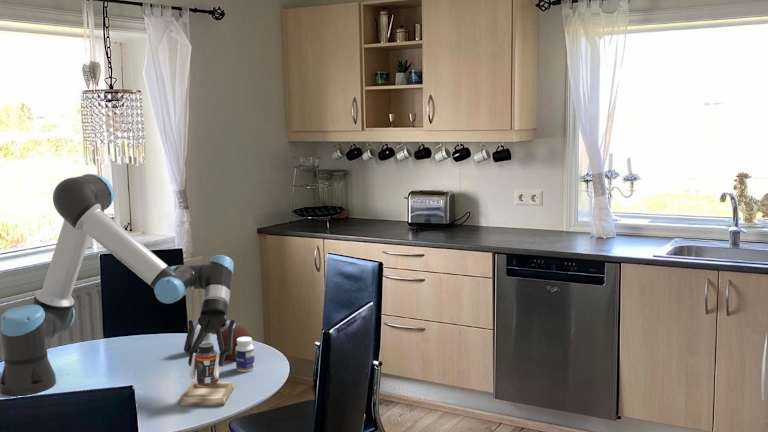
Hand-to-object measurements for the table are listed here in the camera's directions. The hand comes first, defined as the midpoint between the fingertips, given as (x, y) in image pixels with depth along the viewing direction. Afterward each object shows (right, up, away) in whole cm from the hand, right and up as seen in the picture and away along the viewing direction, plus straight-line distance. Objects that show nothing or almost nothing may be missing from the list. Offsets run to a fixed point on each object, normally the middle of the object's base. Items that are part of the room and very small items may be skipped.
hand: (203, 376), depth 209 cm
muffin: (+1, -2, +39) cm, 39 cm away
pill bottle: (+7, -4, +27) cm, 28 cm away
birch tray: (0, -7, +5) cm, 8 cm away
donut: (-12, -1, +45) cm, 46 cm away
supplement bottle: (0, -3, +4) cm, 5 cm away
